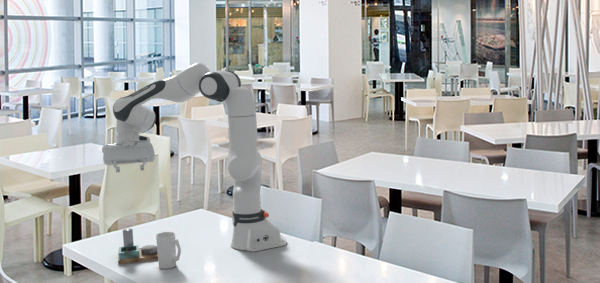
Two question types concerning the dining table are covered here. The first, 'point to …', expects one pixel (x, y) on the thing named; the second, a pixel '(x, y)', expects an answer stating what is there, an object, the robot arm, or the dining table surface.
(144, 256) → the nut block
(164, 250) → the mug
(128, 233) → the pin
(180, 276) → the dining table surface
